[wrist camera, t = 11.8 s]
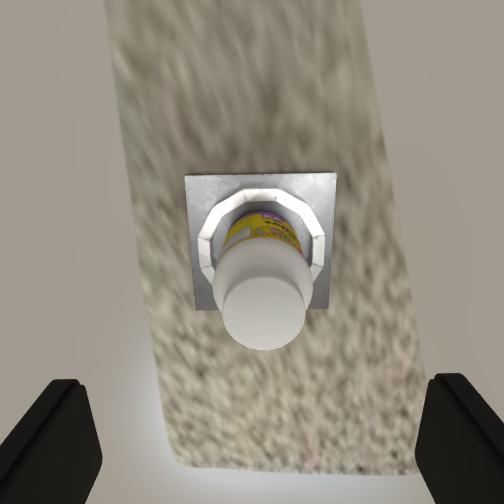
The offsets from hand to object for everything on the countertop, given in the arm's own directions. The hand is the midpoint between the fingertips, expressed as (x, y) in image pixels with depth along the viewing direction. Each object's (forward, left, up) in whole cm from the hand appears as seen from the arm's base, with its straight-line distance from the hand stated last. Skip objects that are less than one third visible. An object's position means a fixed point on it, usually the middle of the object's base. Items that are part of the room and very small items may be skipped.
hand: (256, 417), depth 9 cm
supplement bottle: (+2, +1, -22) cm, 22 cm away
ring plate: (+2, +1, -23) cm, 23 cm away
